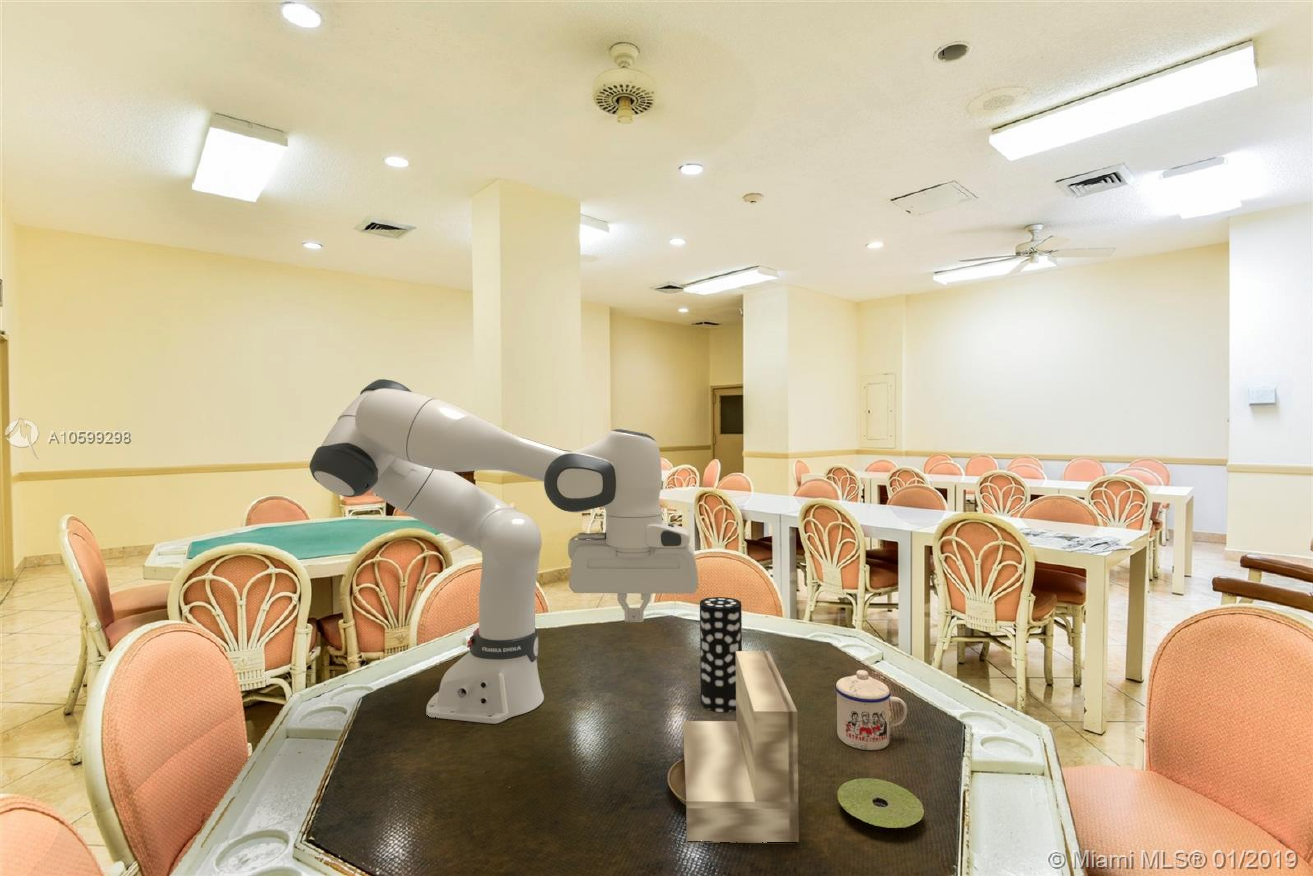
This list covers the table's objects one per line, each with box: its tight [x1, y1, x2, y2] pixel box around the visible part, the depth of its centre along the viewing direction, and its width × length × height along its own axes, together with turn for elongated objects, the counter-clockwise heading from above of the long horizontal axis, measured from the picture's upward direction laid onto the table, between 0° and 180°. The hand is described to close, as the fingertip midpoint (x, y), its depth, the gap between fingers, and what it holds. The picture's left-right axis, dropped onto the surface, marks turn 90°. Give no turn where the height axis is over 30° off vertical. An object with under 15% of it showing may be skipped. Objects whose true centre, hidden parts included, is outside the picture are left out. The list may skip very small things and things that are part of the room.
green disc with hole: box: [836, 777, 925, 829], centre depth 81 cm, size 11×11×2 cm
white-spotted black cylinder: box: [699, 596, 743, 713], centre depth 117 cm, size 8×8×20 cm
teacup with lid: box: [835, 669, 908, 751], centre depth 102 cm, size 12×9×12 cm
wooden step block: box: [682, 650, 800, 844], centre depth 87 cm, size 14×22×17 cm, turn 179°
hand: (634, 620), depth 92 cm, fingers closed
